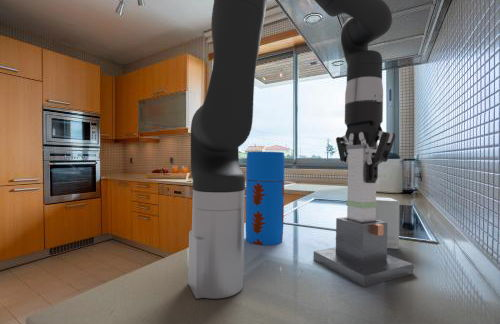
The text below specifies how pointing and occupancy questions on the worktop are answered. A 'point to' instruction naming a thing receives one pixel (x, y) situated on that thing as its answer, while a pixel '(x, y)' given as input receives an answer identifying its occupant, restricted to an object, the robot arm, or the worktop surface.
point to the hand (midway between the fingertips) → (361, 181)
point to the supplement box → (389, 219)
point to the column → (360, 187)
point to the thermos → (264, 197)
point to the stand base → (362, 254)
